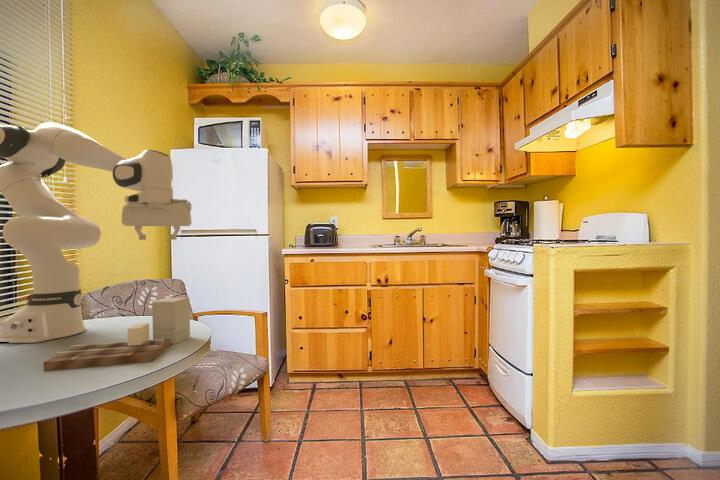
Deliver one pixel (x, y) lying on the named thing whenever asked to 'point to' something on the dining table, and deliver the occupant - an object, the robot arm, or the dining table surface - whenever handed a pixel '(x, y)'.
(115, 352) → the brown striped wooden board
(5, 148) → the robot arm
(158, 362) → the dining table surface
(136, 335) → the beige cube
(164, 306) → the supplement box
